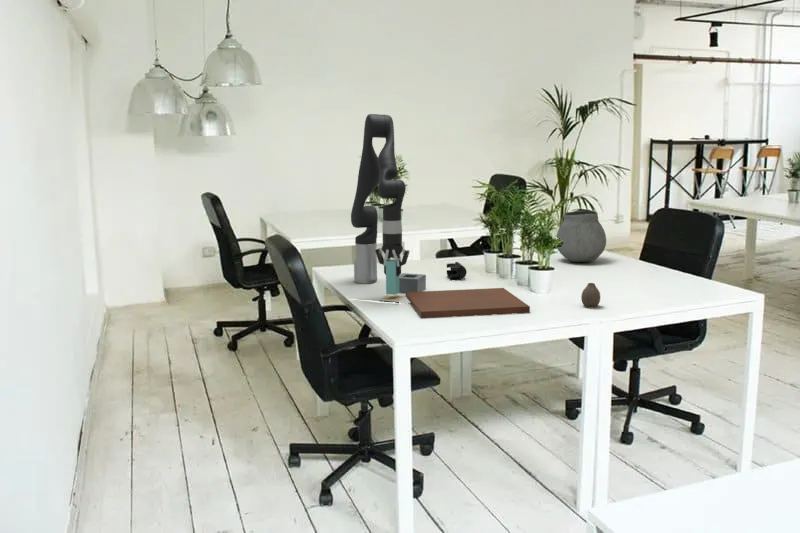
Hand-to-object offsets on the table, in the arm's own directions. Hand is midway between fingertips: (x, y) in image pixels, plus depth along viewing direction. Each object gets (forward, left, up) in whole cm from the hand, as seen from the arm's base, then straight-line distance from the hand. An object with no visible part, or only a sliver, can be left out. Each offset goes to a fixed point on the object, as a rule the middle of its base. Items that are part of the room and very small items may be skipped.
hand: (392, 275), depth 293 cm
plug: (0, 0, -7) cm, 7 cm away
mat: (0, 0, -10) cm, 10 cm away
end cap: (+11, +49, -10) cm, 51 cm away
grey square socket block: (+2, +14, -10) cm, 17 cm away
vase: (+74, +14, -10) cm, 76 cm away
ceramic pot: (+57, +108, -10) cm, 122 cm away
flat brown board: (+29, +1, -11) cm, 31 cm away
